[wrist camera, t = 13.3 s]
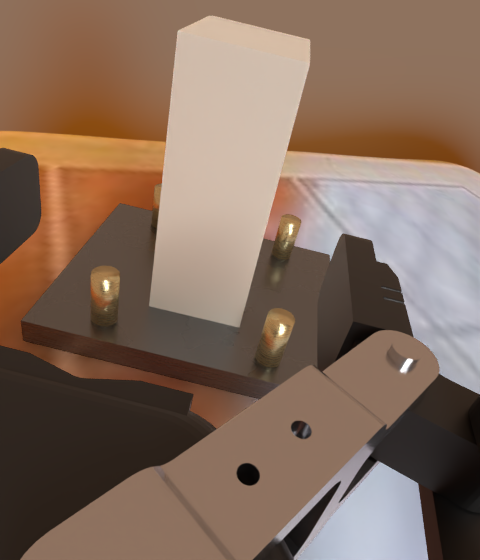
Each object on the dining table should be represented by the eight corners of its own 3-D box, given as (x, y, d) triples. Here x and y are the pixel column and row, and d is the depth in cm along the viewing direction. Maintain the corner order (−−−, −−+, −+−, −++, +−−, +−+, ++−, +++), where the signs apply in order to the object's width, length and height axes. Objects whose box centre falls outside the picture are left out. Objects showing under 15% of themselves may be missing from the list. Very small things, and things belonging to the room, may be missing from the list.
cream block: (252, 261, 27) (310, 39, 20) (239, 327, 22) (310, 63, 15) (178, 244, 27) (210, 15, 20) (149, 306, 22) (177, 30, 15)
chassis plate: (323, 269, 30) (341, 221, 28) (327, 415, 20) (355, 358, 18) (119, 219, 30) (121, 167, 28) (23, 340, 20) (15, 274, 18)
